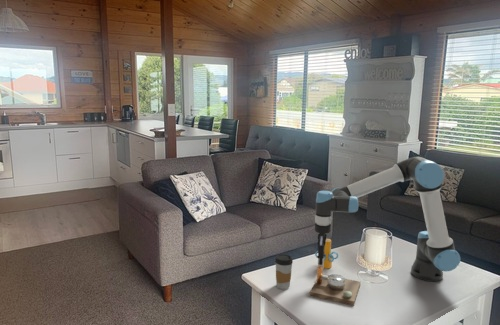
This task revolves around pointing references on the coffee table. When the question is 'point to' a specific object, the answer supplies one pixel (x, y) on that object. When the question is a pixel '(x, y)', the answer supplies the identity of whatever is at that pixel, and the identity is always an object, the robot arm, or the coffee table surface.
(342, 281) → the knob
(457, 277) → the coffee table surface
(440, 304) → the coffee table surface
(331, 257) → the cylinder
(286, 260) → the coffee cup
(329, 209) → the robot arm
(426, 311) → the coffee table surface
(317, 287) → the base
